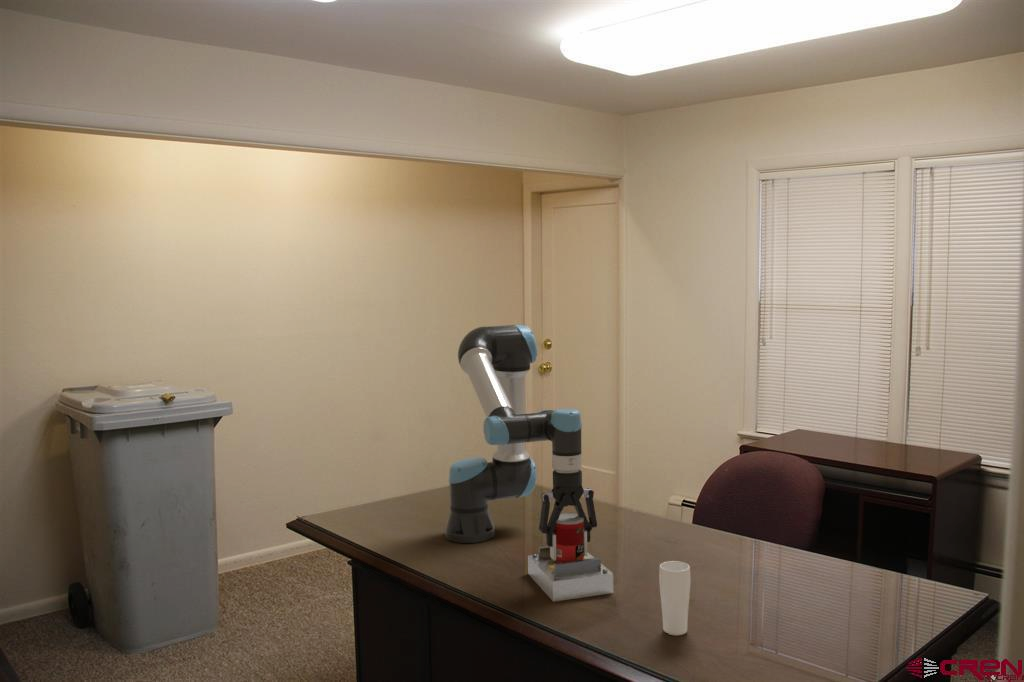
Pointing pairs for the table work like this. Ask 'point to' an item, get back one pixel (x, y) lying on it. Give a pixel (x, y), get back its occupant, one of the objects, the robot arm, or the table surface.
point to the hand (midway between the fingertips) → (568, 556)
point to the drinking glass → (674, 596)
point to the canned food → (569, 538)
